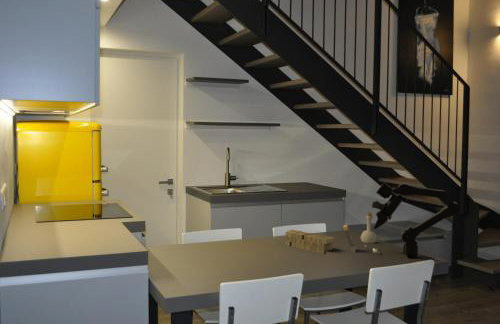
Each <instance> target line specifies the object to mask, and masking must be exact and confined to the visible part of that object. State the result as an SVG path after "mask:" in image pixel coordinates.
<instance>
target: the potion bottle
mask: <svg viewBox="0 0 500 324" xmlns="http://www.w3.org/2000/svg"><path fill="white" fill-rule="evenodd" d="M372 214H373V213H372V211H368V212H367V215H366V216H365V218H366V220H367V221H366V230H363V231H362V233H361V235H360V241H361V242H362V243H366V244H375V243H376V242H377V240H378V239H377V235H376V232H375V231H373V230H372V220H373V218H374V215H372Z"/></svg>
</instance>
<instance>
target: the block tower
mask: <svg viewBox="0 0 500 324" xmlns="http://www.w3.org/2000/svg"><path fill="white" fill-rule="evenodd" d="M335 242H336V238H335V237H333V236H327V235H323V234H312V233H311V232H306V231H302V230H296V229H290V230H286V231H285V245H286V246H291V247H293V248H298V249H301V250H306V251H309V252H310V251H311V252H314V253H318V252H319V253H320V254H323V253H324V254H327V252H328V251H331V250H333V249H334V248H333V247H334V245H333V243H335Z"/></svg>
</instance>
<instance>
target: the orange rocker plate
mask: <svg viewBox="0 0 500 324" xmlns="http://www.w3.org/2000/svg"><path fill="white" fill-rule="evenodd" d="M343 230H344V231H345V234H346V237H347V240H348V243H349V245H350V246H349V247H351V246H354V245H353V244H354V243H353V240H352V236H351V234H350V231H349V227H348V224H345V225H343ZM354 247H356V245H355V246H354Z"/></svg>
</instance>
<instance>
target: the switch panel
mask: <svg viewBox="0 0 500 324" xmlns="http://www.w3.org/2000/svg"><path fill="white" fill-rule="evenodd" d="M353 245H354V246H355V247H354V246H349V247H350V253H356V244H355V243H353ZM360 250H364V248H360ZM364 251H365V250H364ZM366 251H372V253H371V254H372V255H377V256H378V255H379V256H381V251H379V248H375V247H374V248H372V249H370V248H367V250H366Z"/></svg>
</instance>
